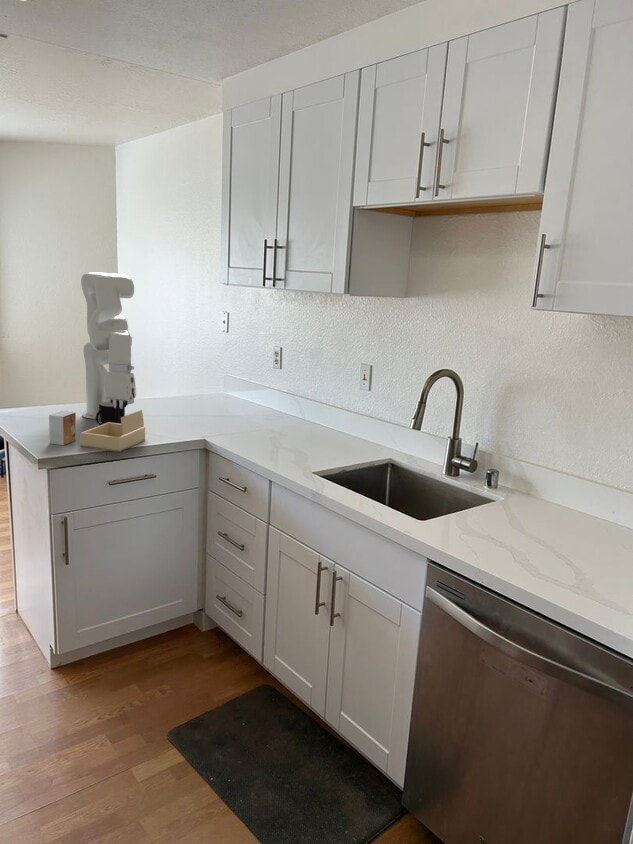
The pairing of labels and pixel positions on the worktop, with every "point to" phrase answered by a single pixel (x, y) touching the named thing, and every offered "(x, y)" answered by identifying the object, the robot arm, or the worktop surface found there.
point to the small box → (62, 427)
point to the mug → (106, 413)
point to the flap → (132, 422)
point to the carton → (111, 437)
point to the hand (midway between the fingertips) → (119, 418)
